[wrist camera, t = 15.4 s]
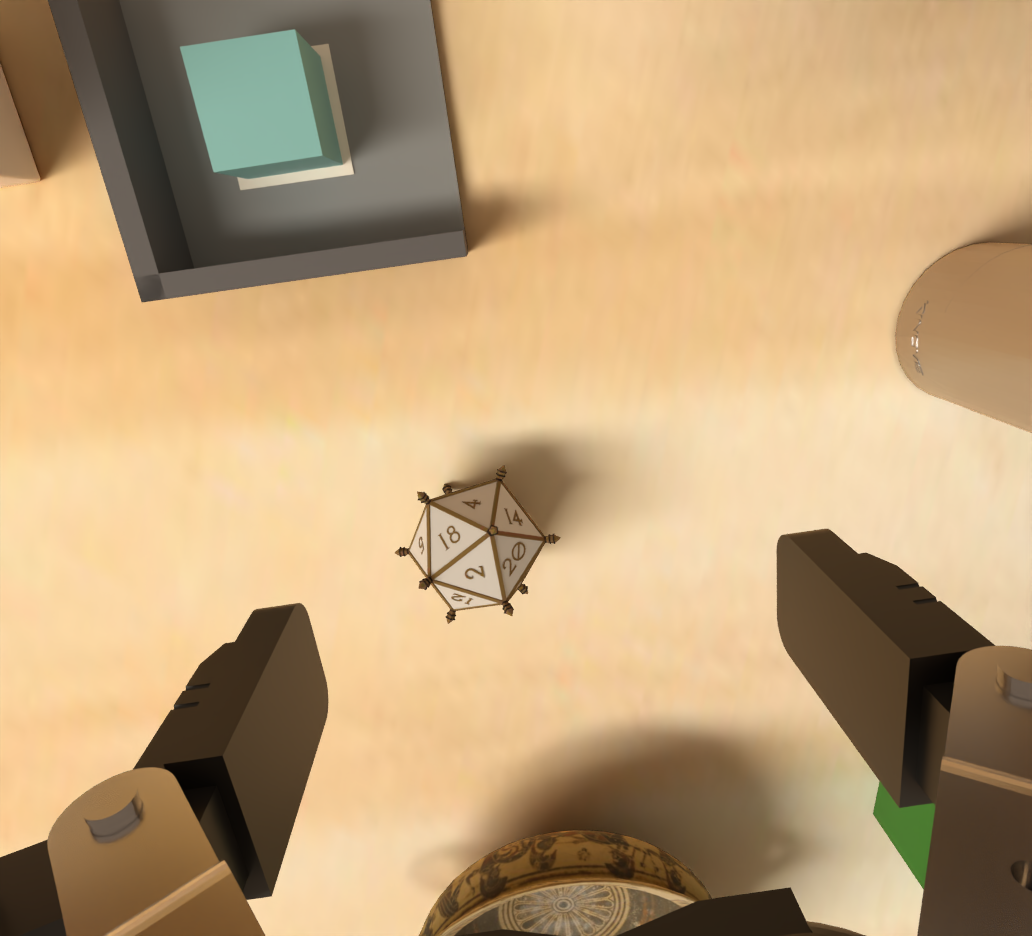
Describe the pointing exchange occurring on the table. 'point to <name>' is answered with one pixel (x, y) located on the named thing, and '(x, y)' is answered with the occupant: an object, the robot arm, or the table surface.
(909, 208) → the table surface
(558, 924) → the ceramic bowl
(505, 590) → the game die
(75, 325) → the table surface
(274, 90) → the cube
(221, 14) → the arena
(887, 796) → the hardback book
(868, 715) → the robot arm
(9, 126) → the milk carton
